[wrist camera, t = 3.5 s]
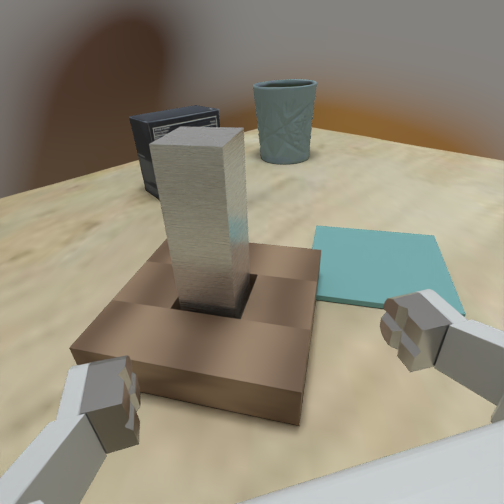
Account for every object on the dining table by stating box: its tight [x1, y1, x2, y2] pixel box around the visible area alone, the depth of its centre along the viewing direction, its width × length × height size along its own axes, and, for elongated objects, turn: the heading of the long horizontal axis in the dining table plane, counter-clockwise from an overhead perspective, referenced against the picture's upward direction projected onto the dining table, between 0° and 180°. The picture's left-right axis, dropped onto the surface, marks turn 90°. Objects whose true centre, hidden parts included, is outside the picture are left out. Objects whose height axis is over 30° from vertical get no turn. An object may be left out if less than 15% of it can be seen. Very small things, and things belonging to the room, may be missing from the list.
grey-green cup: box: [253, 79, 317, 164], centre depth 58 cm, size 10×10×12 cm
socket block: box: [70, 239, 321, 426], centre depth 26 cm, size 14×14×3 cm
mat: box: [312, 226, 465, 317], centre depth 32 cm, size 12×12×1 cm
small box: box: [129, 105, 220, 199], centre depth 48 cm, size 11×6×10 cm, turn 129°
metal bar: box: [149, 127, 251, 319], centre depth 23 cm, size 4×4×14 cm
